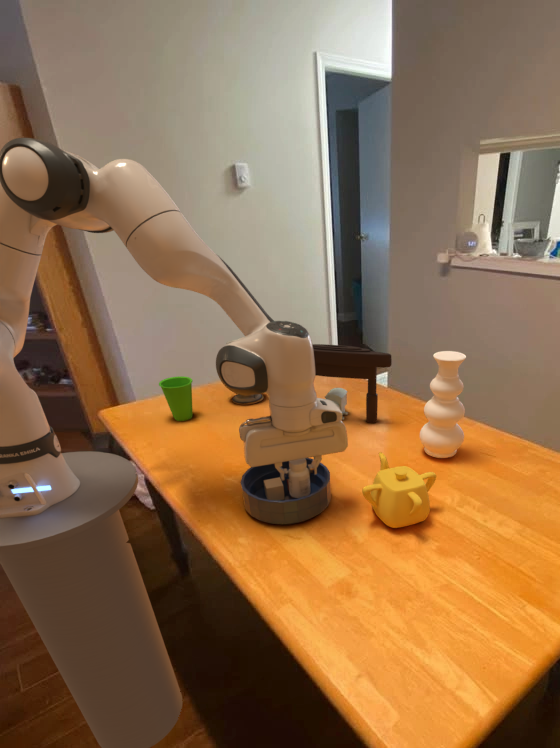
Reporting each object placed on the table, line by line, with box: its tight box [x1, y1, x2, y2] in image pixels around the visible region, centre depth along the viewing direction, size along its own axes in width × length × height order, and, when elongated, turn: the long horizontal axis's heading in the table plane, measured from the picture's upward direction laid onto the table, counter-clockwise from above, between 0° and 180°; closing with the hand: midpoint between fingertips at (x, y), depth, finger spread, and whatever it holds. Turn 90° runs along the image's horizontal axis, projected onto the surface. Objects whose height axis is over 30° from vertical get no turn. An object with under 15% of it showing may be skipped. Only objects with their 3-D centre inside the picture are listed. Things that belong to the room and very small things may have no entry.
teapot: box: [361, 451, 437, 529], centre depth 91 cm, size 14×13×10 cm
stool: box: [312, 343, 393, 424], centre depth 129 cm, size 16×21×33 cm
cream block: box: [264, 477, 285, 500], centre depth 97 cm, size 4×4×4 cm
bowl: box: [239, 457, 332, 525], centre depth 96 cm, size 18×18×6 cm
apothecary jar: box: [225, 339, 264, 406], centre depth 143 cm, size 12×12×18 cm
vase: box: [419, 350, 467, 459], centre depth 110 cm, size 11×11×25 cm
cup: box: [158, 376, 194, 422], centre depth 133 cm, size 9×9×11 cm
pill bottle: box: [288, 458, 311, 498], centre depth 93 cm, size 4×4×8 cm
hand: (299, 476), depth 93 cm, fingers closed on pill bottle, 4 cm apart
